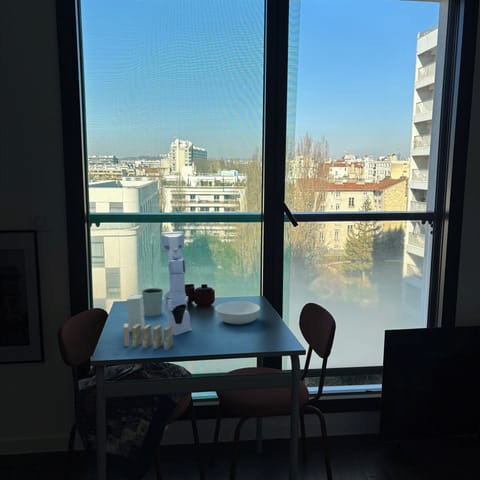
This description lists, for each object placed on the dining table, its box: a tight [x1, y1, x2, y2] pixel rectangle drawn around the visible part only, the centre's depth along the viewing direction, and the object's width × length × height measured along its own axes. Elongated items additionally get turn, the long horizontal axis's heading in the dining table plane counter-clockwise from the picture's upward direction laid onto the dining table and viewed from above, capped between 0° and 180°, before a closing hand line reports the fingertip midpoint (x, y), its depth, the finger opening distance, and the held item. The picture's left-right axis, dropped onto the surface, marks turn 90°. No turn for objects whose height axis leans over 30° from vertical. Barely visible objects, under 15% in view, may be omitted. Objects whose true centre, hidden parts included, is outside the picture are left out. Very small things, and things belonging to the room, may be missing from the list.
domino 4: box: [163, 325, 174, 350], centre depth 185 cm, size 2×5×8 cm, turn 167°
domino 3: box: [152, 324, 163, 350], centre depth 186 cm, size 2×5×8 cm, turn 167°
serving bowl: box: [215, 301, 261, 325], centre depth 216 cm, size 21×21×7 cm
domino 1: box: [131, 324, 143, 348], centre depth 188 cm, size 2×5×8 cm, turn 167°
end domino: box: [123, 323, 130, 347], centre depth 189 cm, size 2×5×8 cm, turn 11°
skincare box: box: [126, 294, 146, 333], centre depth 207 cm, size 8×6×15 cm
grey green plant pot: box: [141, 287, 164, 317], centre depth 230 cm, size 10×10×12 cm
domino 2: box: [141, 324, 153, 349], centre depth 187 cm, size 2×5×8 cm, turn 167°
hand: (178, 323), depth 183 cm, fingers closed
